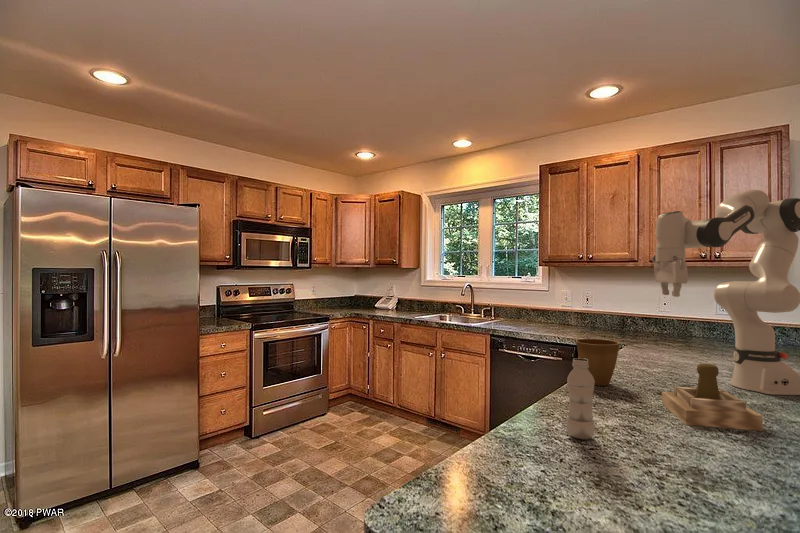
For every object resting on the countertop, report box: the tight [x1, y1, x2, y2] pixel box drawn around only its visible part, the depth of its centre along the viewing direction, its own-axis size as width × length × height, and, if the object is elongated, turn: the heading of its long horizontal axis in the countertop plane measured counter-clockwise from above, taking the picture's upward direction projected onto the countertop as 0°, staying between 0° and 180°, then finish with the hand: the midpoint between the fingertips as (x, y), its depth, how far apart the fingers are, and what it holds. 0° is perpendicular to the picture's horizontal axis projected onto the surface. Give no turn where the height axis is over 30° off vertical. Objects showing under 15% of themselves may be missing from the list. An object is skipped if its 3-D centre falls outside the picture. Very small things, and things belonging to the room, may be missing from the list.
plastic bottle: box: [566, 357, 596, 440], centre depth 106 cm, size 6×7×20 cm
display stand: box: [661, 386, 764, 432], centre depth 121 cm, size 18×18×6 cm
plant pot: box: [575, 338, 620, 387], centre depth 156 cm, size 15×15×16 cm
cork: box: [696, 363, 720, 400], centre depth 121 cm, size 6×6×11 cm
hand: (670, 295), depth 146 cm, fingers open, 8 cm apart
